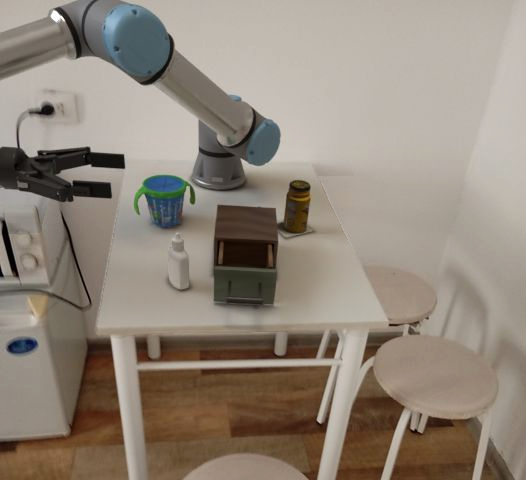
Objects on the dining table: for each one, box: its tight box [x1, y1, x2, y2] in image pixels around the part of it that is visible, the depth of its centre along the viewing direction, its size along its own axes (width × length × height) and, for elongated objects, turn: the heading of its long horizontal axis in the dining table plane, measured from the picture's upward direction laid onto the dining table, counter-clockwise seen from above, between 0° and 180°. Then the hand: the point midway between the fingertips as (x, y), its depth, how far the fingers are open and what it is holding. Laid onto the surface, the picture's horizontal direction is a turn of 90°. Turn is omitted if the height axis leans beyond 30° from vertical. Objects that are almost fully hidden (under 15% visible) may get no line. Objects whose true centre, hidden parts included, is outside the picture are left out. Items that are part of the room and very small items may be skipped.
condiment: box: [277, 179, 314, 238], centre depth 139 cm, size 7×8×12 cm
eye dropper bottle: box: [167, 231, 190, 291], centre depth 116 cm, size 4×6×12 cm
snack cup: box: [133, 174, 196, 228], centre depth 137 cm, size 16×10×10 cm
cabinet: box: [213, 204, 279, 277], centre depth 126 cm, size 16×14×10 cm
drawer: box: [213, 241, 278, 306], centre depth 115 cm, size 21×12×8 cm, turn 1°
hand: (118, 175), depth 104 cm, fingers open, 13 cm apart
